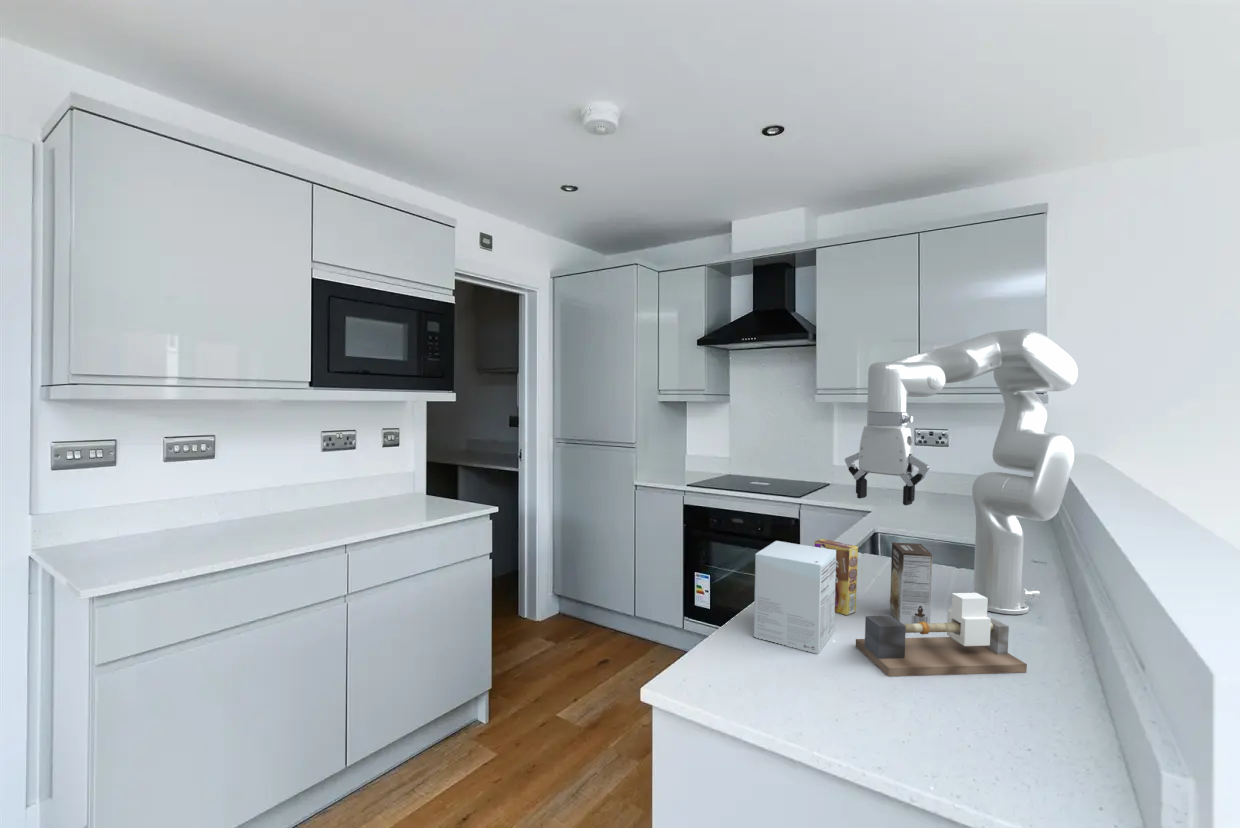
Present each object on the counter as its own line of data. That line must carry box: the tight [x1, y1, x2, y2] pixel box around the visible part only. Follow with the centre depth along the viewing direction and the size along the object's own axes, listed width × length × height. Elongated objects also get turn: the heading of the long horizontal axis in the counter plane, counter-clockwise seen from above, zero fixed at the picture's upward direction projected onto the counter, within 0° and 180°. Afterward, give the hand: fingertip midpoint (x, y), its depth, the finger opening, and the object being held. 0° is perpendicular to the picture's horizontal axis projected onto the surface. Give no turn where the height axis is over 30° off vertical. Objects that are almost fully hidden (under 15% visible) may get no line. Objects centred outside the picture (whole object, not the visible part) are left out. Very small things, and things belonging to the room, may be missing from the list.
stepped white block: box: [946, 592, 991, 646], centre depth 110 cm, size 5×5×8 cm
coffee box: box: [889, 542, 934, 624], centre depth 129 cm, size 9×6×16 cm
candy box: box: [814, 538, 859, 616], centre depth 135 cm, size 9×4×15 cm, turn 39°
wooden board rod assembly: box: [855, 614, 1028, 677], centre depth 110 cm, size 26×12×8 cm, turn 95°
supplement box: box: [752, 540, 836, 655], centre depth 119 cm, size 13×13×18 cm
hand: (884, 500), depth 124 cm, fingers open, 9 cm apart
